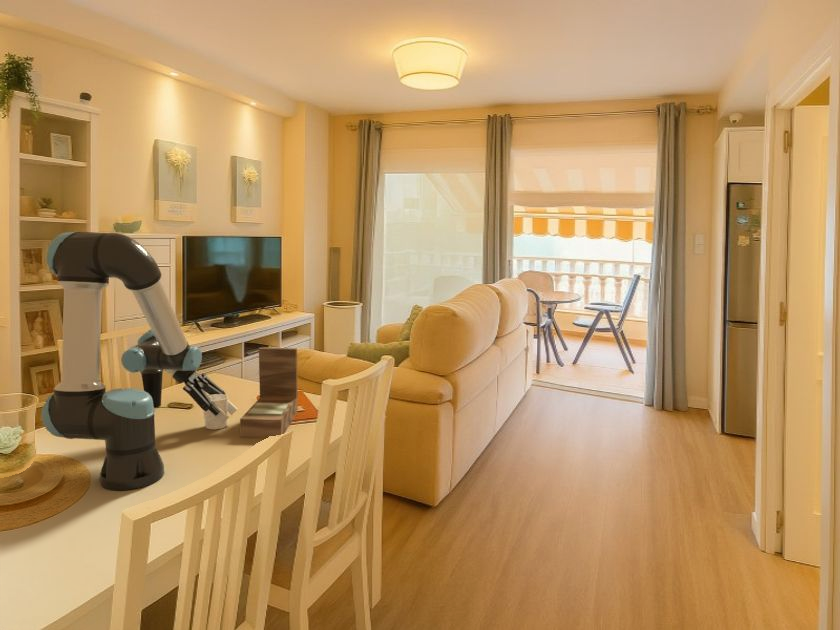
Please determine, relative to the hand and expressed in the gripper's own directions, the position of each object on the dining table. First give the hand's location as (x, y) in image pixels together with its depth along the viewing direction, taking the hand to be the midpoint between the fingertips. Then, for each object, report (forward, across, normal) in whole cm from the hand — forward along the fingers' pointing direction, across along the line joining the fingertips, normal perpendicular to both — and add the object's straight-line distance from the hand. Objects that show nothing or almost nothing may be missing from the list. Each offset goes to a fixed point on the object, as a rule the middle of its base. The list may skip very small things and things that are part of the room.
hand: (230, 416), depth 186 cm
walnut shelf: (+11, -3, +6) cm, 13 cm away
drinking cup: (-22, -19, -27) cm, 40 cm away
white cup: (-1, 0, -6) cm, 6 cm away
